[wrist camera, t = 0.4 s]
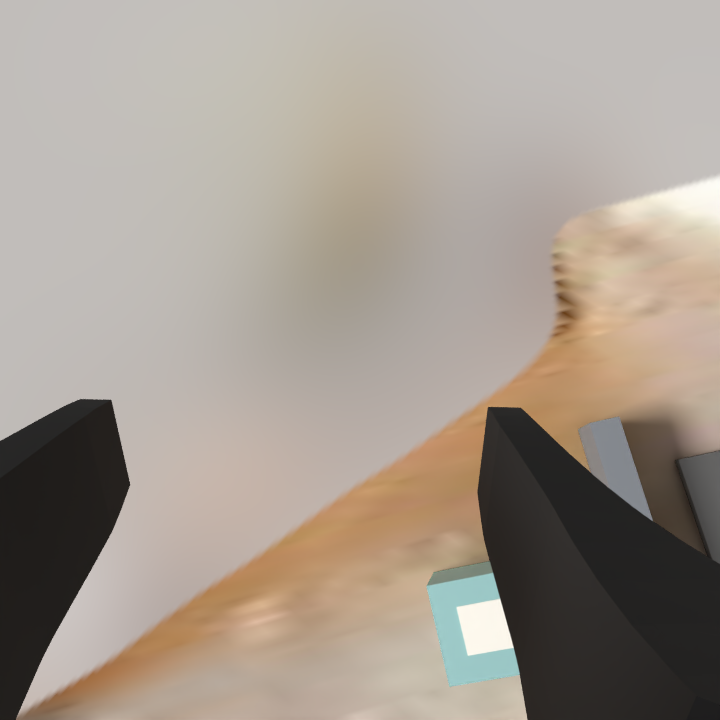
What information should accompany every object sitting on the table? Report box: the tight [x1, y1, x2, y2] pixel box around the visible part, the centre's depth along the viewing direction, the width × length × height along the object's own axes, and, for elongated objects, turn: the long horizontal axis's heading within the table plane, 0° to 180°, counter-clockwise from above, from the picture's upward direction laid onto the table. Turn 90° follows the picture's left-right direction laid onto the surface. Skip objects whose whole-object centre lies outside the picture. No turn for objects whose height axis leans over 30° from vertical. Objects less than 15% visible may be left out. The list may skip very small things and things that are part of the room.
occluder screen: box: [578, 417, 653, 521], centre depth 32 cm, size 18×2×4 cm, turn 12°
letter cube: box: [427, 561, 520, 687], centre depth 33 cm, size 5×5×5 cm
